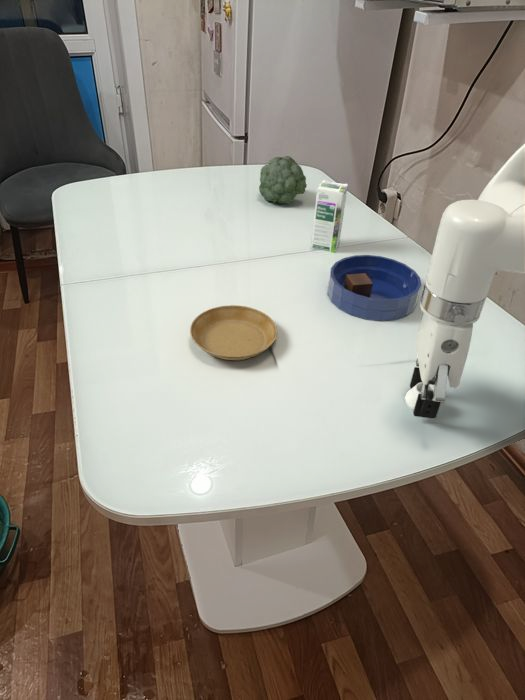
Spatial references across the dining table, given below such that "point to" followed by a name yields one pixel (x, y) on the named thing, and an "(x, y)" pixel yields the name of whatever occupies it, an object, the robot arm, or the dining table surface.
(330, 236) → the syrup box
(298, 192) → the vegetable
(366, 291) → the walnut block
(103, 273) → the dining table surface
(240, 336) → the plant saucer
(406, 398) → the white jar
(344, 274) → the bowl
